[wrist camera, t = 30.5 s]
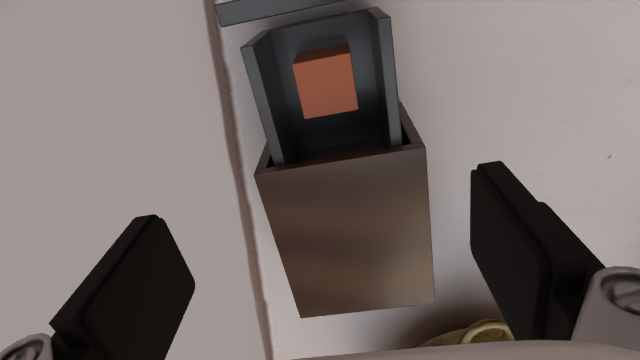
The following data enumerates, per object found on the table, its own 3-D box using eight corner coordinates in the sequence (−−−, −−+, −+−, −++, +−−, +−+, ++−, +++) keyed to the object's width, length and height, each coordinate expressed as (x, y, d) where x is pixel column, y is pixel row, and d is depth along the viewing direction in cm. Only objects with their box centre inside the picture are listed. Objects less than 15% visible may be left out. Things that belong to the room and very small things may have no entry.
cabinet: (273, 124, 33) (253, 175, 25) (401, 101, 32) (425, 146, 23) (307, 246, 40) (300, 318, 32) (413, 232, 39) (435, 303, 30)
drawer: (223, -78, 25) (182, -97, 18) (374, -116, 24) (390, -153, 17) (286, 156, 34) (274, 203, 27) (399, 137, 32) (416, 181, 26)
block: (296, 53, 28) (291, 64, 24) (347, 42, 27) (350, 52, 24) (307, 102, 30) (304, 119, 26) (355, 93, 29) (358, 109, 26)
